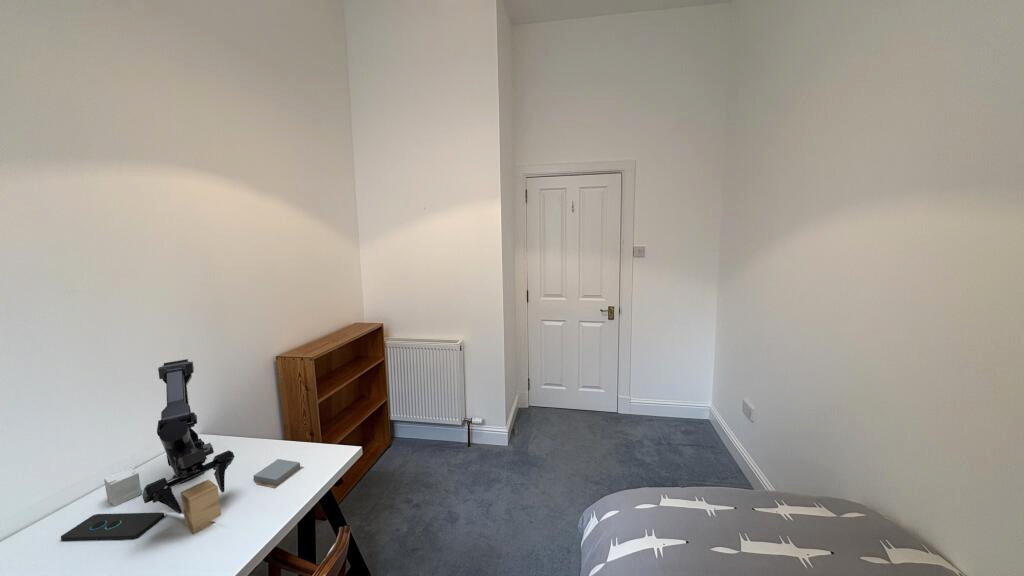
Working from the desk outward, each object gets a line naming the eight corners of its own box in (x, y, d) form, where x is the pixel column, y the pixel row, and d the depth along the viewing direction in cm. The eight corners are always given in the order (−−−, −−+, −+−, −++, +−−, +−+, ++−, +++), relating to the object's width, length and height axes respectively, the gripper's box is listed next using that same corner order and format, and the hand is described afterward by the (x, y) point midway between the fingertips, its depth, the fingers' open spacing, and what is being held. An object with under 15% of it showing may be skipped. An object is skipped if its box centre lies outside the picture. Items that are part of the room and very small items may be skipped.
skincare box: (135, 488, 111) (131, 466, 110) (142, 494, 108) (139, 472, 108) (106, 500, 106) (103, 478, 105) (113, 507, 103) (109, 484, 102)
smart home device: (95, 513, 99) (166, 511, 99) (96, 518, 99) (166, 517, 100) (57, 537, 91) (135, 535, 91) (58, 543, 91) (136, 541, 91)
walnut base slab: (248, 488, 111) (247, 482, 111) (279, 467, 122) (279, 462, 122) (275, 494, 108) (274, 488, 108) (305, 472, 119) (304, 466, 119)
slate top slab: (254, 481, 112) (253, 475, 111) (278, 464, 120) (278, 458, 120) (276, 485, 110) (276, 479, 109) (300, 467, 118) (299, 462, 118)
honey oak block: (185, 525, 96) (180, 492, 95) (212, 511, 101) (208, 479, 100) (194, 534, 93) (189, 499, 92) (221, 519, 98) (217, 486, 97)
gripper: (139, 457, 88) (160, 513, 84) (228, 424, 104) (249, 470, 100) (134, 476, 93) (154, 530, 89) (219, 441, 109) (239, 486, 105)
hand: (202, 502), depth 95 cm, fingers open, 9 cm apart
